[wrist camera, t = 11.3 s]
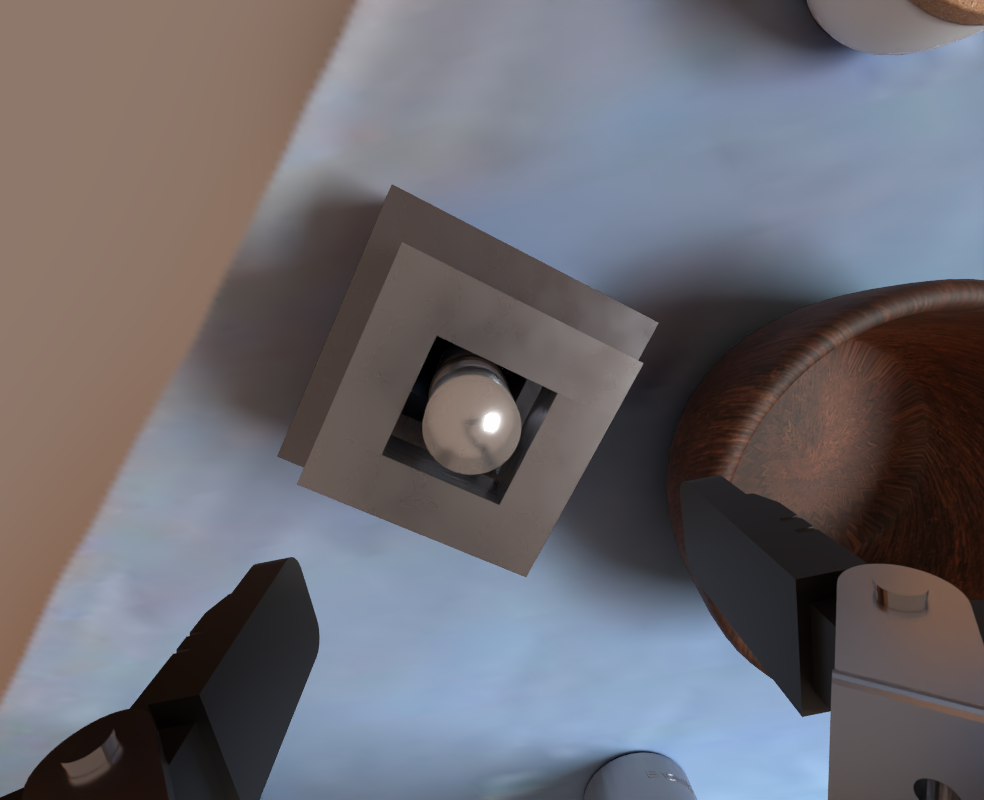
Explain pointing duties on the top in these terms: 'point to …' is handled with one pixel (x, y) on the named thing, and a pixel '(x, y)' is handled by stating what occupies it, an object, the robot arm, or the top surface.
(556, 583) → the top surface
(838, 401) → the wooden bowl
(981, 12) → the lidded bowl
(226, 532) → the top surface
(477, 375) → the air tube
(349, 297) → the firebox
